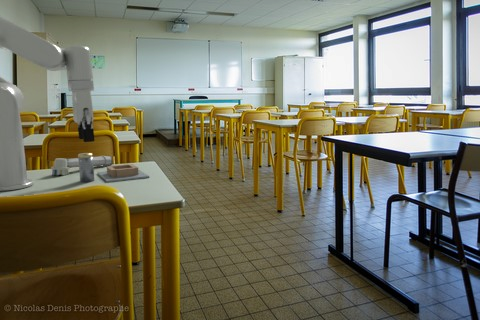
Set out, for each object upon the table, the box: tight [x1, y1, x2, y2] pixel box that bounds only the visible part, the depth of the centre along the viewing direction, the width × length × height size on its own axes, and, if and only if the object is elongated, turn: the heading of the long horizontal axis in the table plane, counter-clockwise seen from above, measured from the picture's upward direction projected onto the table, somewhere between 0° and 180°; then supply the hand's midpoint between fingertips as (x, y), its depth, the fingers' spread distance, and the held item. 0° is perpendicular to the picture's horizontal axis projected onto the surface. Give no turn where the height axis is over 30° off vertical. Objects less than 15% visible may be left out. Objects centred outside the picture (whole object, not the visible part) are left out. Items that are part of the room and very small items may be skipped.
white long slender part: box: [50, 155, 114, 176], centre depth 148 cm, size 5×7×25 cm
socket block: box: [96, 163, 150, 183], centre depth 138 cm, size 14×16×3 cm
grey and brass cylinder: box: [77, 152, 95, 183], centre depth 130 cm, size 4×4×9 cm
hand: (86, 140), depth 128 cm, fingers open, 9 cm apart
